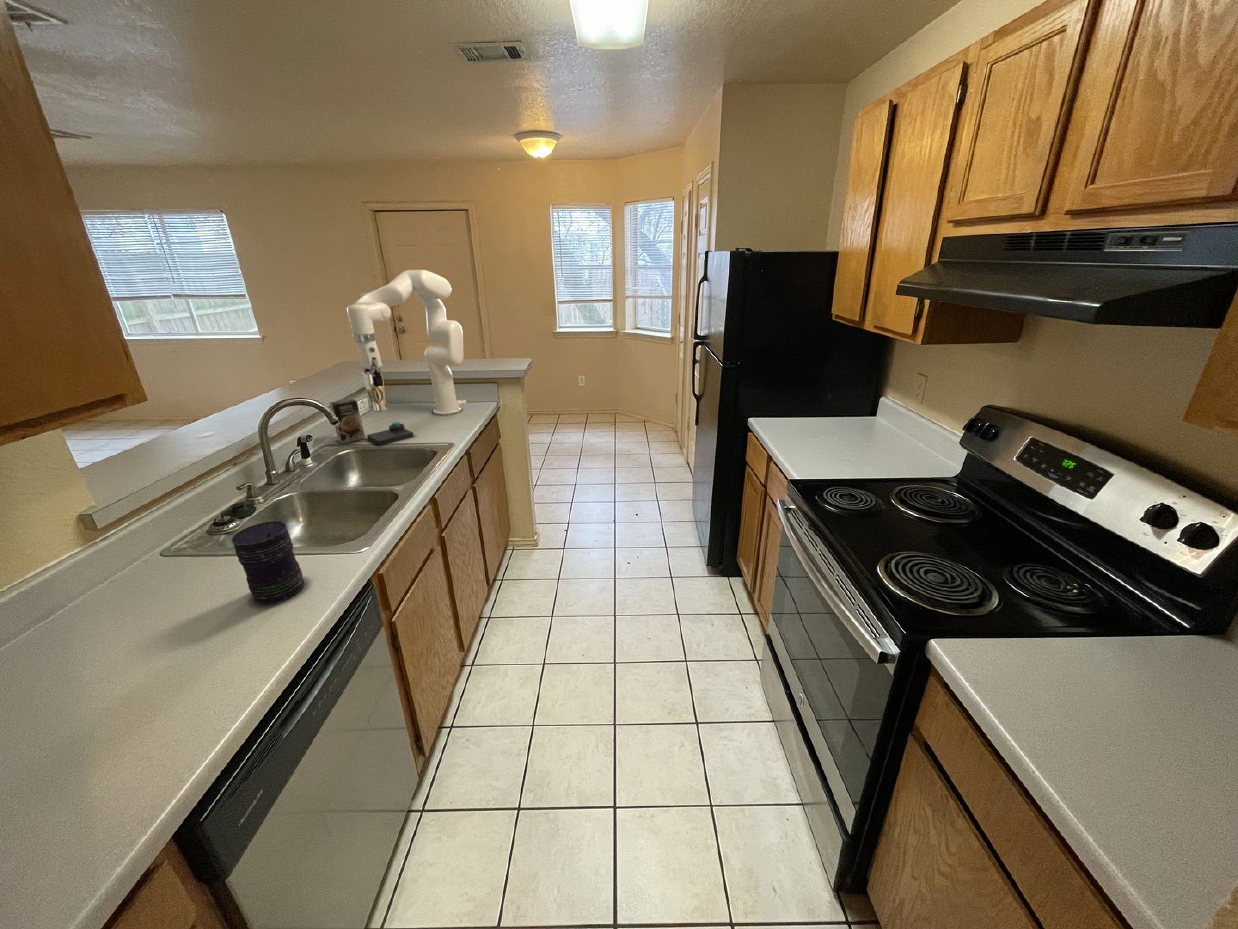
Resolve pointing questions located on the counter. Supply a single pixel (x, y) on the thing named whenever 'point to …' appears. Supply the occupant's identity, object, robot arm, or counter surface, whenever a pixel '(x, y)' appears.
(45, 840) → the counter surface
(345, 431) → the cookie box
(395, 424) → the scale button
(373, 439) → the scale
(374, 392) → the beer glass
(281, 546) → the storage jar
